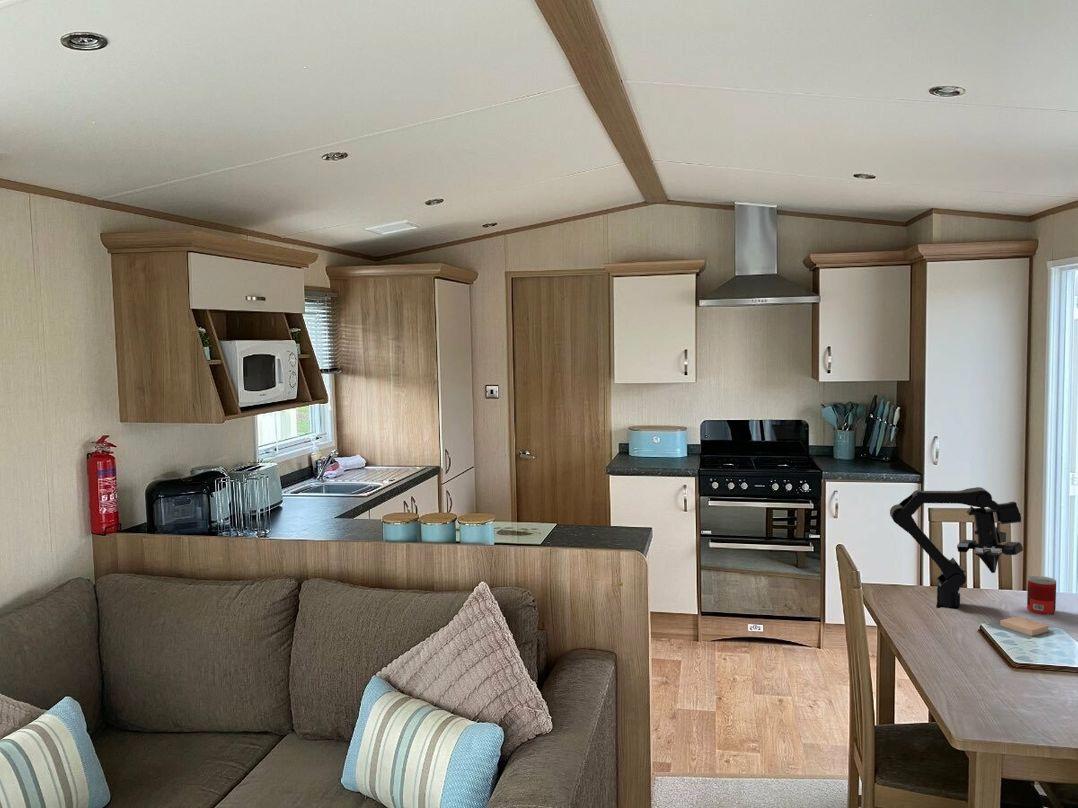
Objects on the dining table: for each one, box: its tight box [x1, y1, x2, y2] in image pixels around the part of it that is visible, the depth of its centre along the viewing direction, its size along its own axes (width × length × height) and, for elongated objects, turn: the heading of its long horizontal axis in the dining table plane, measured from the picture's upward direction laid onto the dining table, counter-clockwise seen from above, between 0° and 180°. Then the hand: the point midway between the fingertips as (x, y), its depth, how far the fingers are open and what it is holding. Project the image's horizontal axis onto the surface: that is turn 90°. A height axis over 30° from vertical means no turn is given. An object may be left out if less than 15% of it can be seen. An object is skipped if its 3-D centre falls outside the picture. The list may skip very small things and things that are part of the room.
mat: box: [985, 620, 1054, 639], centre depth 258 cm, size 14×12×1 cm
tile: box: [999, 615, 1050, 637], centre depth 257 cm, size 2×8×10 cm
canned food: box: [1026, 575, 1057, 616], centre depth 273 cm, size 8×8×11 cm
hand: (993, 572), depth 276 cm, fingers closed
